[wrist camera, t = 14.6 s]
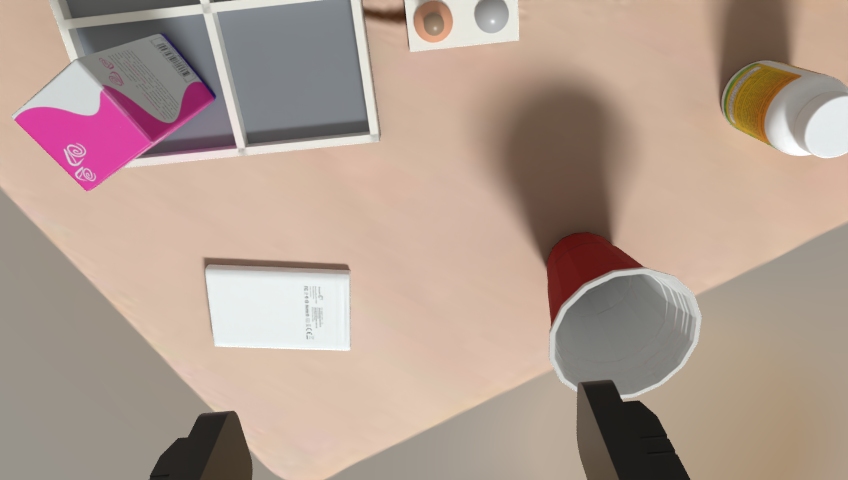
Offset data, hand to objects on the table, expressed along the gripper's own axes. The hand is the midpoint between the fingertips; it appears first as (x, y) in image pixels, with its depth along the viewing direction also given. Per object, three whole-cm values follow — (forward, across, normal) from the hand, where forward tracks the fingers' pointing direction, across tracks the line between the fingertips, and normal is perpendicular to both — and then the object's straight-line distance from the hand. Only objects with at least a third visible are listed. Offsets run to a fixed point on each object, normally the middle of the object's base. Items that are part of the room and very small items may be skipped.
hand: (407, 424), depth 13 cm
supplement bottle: (+34, -26, +2) cm, 43 cm away
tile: (+34, -4, -8) cm, 35 cm away
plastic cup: (+34, -13, +15) cm, 40 cm away
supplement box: (+33, +18, -3) cm, 38 cm away
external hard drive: (+35, +14, +17) cm, 41 cm away
